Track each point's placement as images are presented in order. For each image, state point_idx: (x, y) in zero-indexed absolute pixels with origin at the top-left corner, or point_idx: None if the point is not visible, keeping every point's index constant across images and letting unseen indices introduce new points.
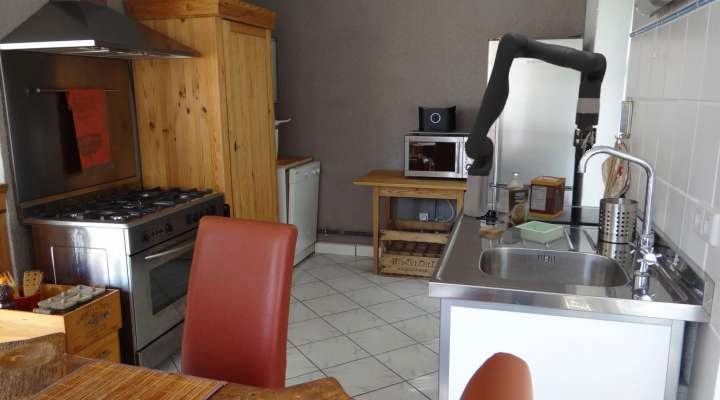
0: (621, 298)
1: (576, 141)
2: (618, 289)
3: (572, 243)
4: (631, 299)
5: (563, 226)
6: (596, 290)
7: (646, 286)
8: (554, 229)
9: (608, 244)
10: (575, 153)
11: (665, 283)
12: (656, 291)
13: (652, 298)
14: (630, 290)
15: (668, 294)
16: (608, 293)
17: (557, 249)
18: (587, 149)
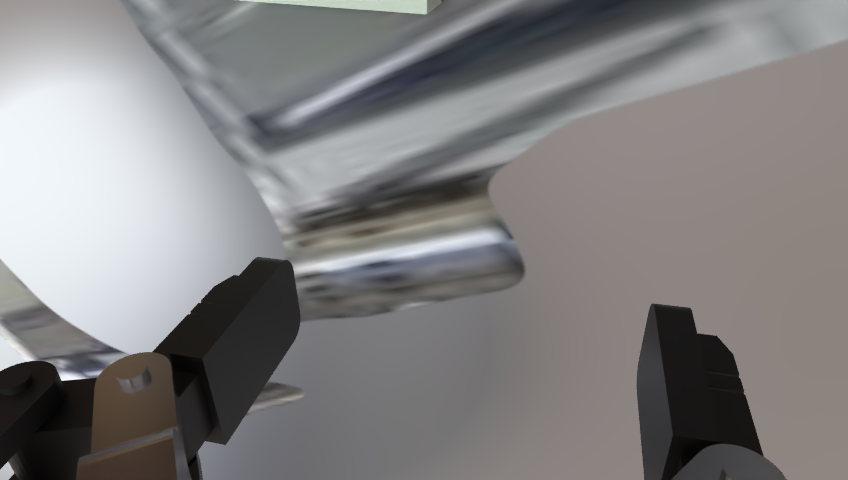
0: (18, 343)
1: (128, 442)
2: (58, 330)
3: (365, 90)
4: (33, 358)
5: (426, 13)
6: (6, 293)
7: None
8: (317, 4)
9: (471, 220)
10: (223, 294)
11: None
12: None
13: None
14: (77, 351)
15: None
16: (16, 317)
17: (223, 76)
18: (654, 421)
